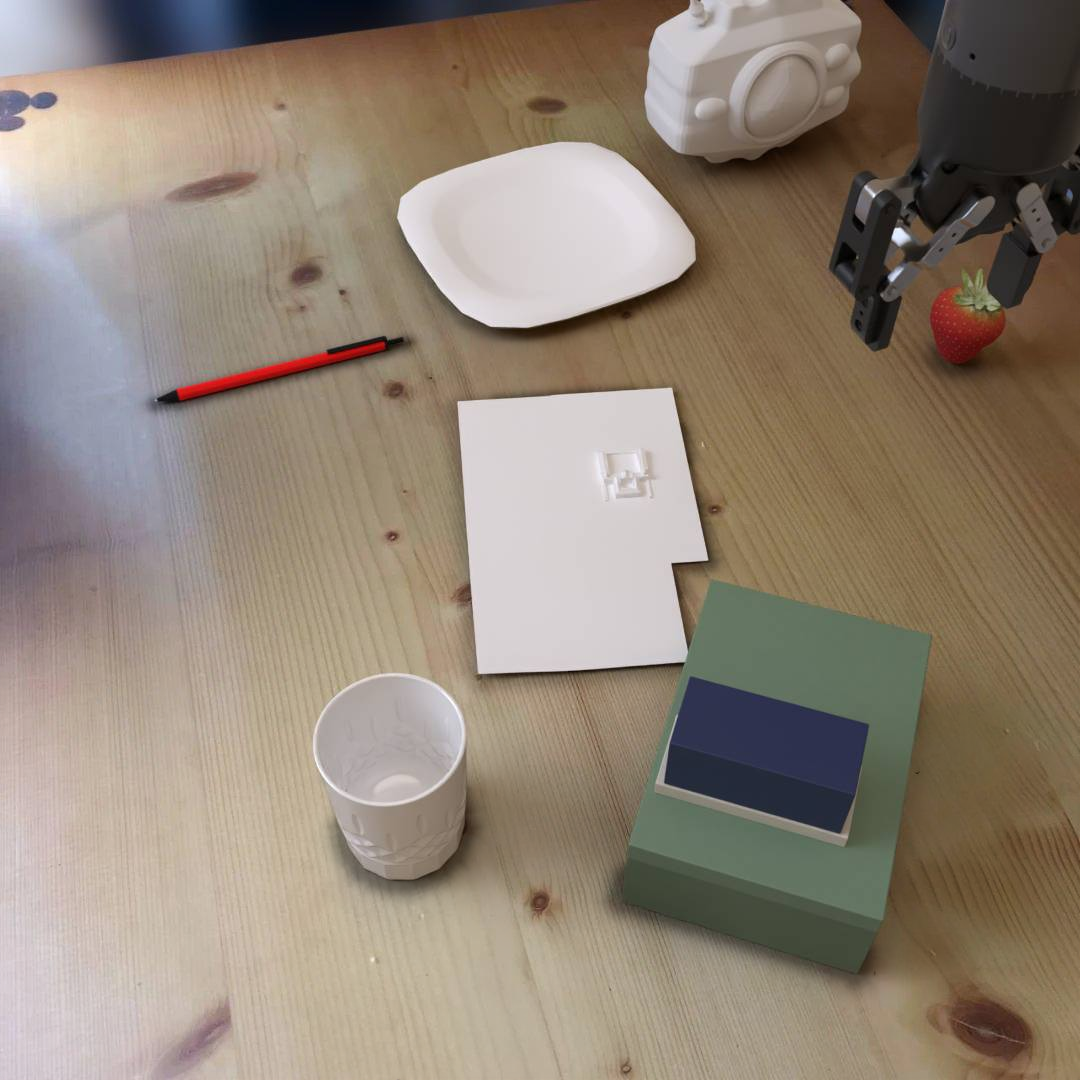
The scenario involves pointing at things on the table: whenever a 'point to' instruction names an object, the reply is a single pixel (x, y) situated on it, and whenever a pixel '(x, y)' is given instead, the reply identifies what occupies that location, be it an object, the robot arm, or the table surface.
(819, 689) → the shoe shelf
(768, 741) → the navy block
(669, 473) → the paper
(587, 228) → the plate
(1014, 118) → the robot arm
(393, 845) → the white cup
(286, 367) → the pen
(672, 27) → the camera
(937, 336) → the fruit
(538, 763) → the table surface
